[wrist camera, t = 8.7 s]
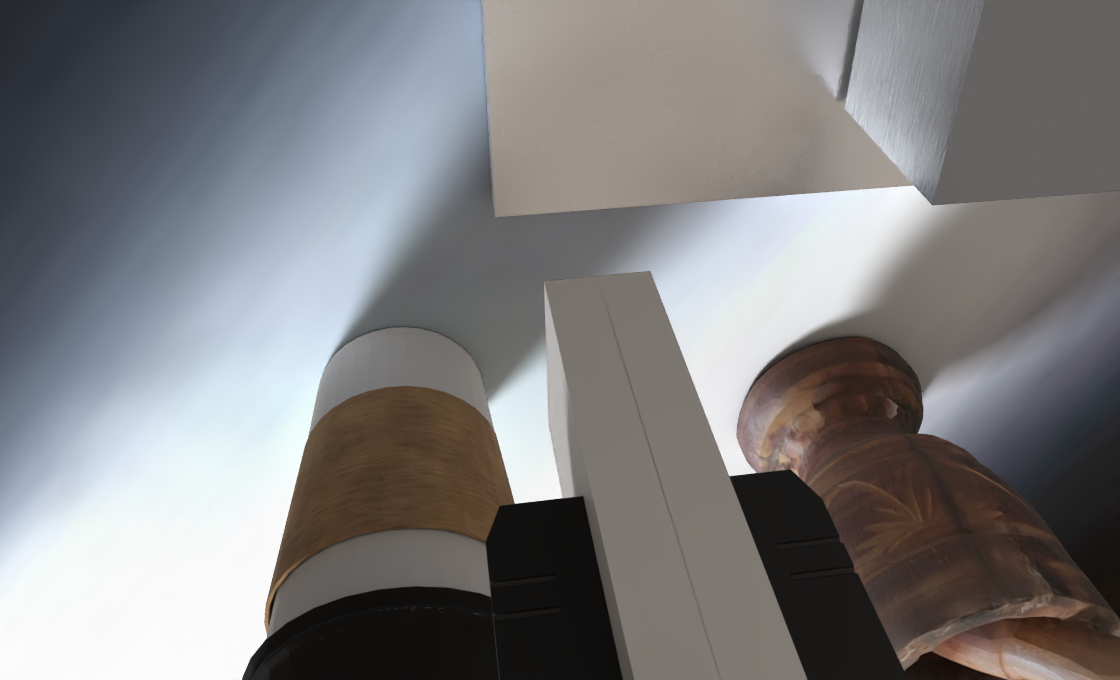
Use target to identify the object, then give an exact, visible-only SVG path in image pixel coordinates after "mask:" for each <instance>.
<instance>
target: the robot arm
mask: <svg viewBox="0 0 1120 680" xmlns="http://www.w3.org/2000/svg"><path fill="white" fill-rule="evenodd" d="M544 297H545V327H546V357H547V387H548V417H549V429H550V434H551V439H552V444H553V450H554V455H555V460H556V465H557V470H558V476H559V481H560V486H561V491H562V496H563V498H562V499H553V500H545V501H536V502H528V503H519V504H511V505H502V506H499V509H498V511H497V514H496V516H495V519H494V522H493V524H492V527H491V529H490V532H489V534H488V537H487V540H486V542H485V543H486V553H487V563H488V573H489V583H490V593H491V603H492V613H493V623H494V633H495V643H496V652H497V662H498V672H499V680H908V678H907V675H906V673H905V671H904V669H903V667H902V665H901V663H900V661H899V659H898V657H897V654H896V652H895V650H894V648H893V646H892V644H891V642H890V640H889V638H888V636H887V634H886V631H885V629H884V627H883V625H882V623H881V621H880V619H879V617H878V615H877V613H876V610H875V608H874V606H873V604H872V602H871V600H870V598H869V596H868V594H867V592H866V590H865V587H864V585H863V583H862V581H861V579H860V577H859V575H858V573H855V571H854V564H853V562H852V560H851V558H850V556H849V554H848V552H847V550H846V548H845V546H844V543H841V542H840V535H839V533H838V531H837V529H836V527H835V525H834V522H833V520H832V518H831V516H830V514H829V512H828V510H827V508H826V506H825V504H824V502H823V499H822V498H821V497H820V496H819V495H817V494H816V493H815V492H814V491H813V490H812V489H811V488H810V487H809V486H808V485H807V484H806V483H805V482H804V481H803V480H801V479H800V478H799V477H798V476H797V475H796V474H795V473H794V472H793V471H792V470H791V469H788V470H780V471H771V472H763V473H754V474H746V475H737V476H729V475H728V472H727V470H726V467H725V464H724V462H723V459H722V457H721V454H720V451H719V449H718V446H717V444H716V441H715V438H714V436H713V433H712V431H711V428H710V425H709V423H708V420H707V418H706V415H705V412H704V410H703V407H702V405H701V402H700V399H699V397H698V394H697V392H696V389H695V386H694V384H693V381H692V379H691V376H690V373H689V371H688V368H687V366H686V363H685V360H684V358H683V355H682V353H681V350H680V347H679V345H678V342H677V340H676V337H675V334H674V332H673V329H672V327H671V324H670V321H669V319H668V316H667V314H666V311H665V308H664V306H663V303H662V301H661V298H660V295H659V293H658V290H657V288H656V285H655V282H654V280H653V277H652V275H651V272H650V271H645V272H634V273H624V274H613V275H602V276H592V277H581V278H571V279H560V280H550V281H544Z"/></svg>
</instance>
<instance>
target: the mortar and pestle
mask: <svg viewBox="0 0 1120 680" xmlns="http://www.w3.org/2000/svg"><path fill="white" fill-rule="evenodd" d="M922 419H923V404H922V395H921V386H920V383H919V380H918V377H917V375H916V374H915V372H914V371H913V370H912V368H911V367H910V366H909V365H908V364H907V363H906V362H905V361H904V360H903V359H902V358H901V357H900V355H899V354H898V353H897V352H895V351H894V350H893V349H891V348H890V347H888V346H886V345H883V344H881V343H879V342H877V341H875V340H872V339H869V338H862V337H849V338H844V339H835V340H830V341H825V342H821V343H818V344H816V345H813V346H810V347H808V348H805V349H803V350H800V351H797V352H795V353H793V354H791V355H790V356H788V357H786V358H785V359H783V360H781V361H780V362H778V363H777V364H776V365H774V366H773V367H771V368H770V369H769V370H768V371H767V372H766V373H765V374H764V375H763V376H762V377H761V378H760V379H759V380H758V381H757V382H756V383H755V384H754V386H753V387H752V388H751V390H750V392H749V393H748V395H747V397H746V399H745V401H744V403H743V405H742V408H741V410H740V414H739V419H738V424H737V439H738V442H739V445H740V447H741V450H742V452H743V454H744V456H745V458H746V460H747V462H748V463H749V464H750V466H751V467H752V468H753V469H754V470H755V471H756V472H757V473H763V472H771V471H780V470H788V469H791V470H792V471H793V472H794V473H795V474H796V475H797V476H798V477H799V478H800V479H801V480H803V481H804V482H805V483H806V484H807V485H808V486H809V487H810V488H811V489H812V490H813V491H814V492H815V493H816V494H817V495H819V496H820V497H821V498H822V499H823V502H824V504H825V506H826V508H827V510H828V512H829V514H830V516H831V518H832V520H833V522H834V525H835V527H836V529H837V531H838V533H839V535H840V542H841V543H844V546H845V548H846V550H847V552H848V554H849V556H850V558H851V560H852V562H853V564H854V571H855V573H858V575H859V577H860V579H861V581H862V583H863V585H864V587H865V590H866V592H867V594H868V596H869V598H870V600H871V602H872V604H873V606H874V608H875V610H876V613H877V615H878V617H879V619H880V621H881V623H882V625H883V627H884V629H885V631H886V634H887V636H888V638H889V640H890V642H891V644H892V646H893V648H894V650H895V652H896V654H897V657H898V659H899V661H900V663H901V665H902V667H903V669H904V671H905V673H906V675H907V678H908V680H1120V619H1119V617H1118V616H1117V615H1116V614H1115V612H1114V611H1113V610H1112V608H1111V607H1110V606H1109V605H1108V603H1107V602H1106V601H1105V599H1104V598H1103V597H1102V596H1101V594H1100V593H1099V592H1098V591H1097V589H1096V588H1095V587H1094V586H1093V584H1092V583H1091V582H1090V580H1089V579H1088V578H1087V577H1086V576H1085V574H1084V573H1083V572H1082V571H1081V570H1080V568H1079V567H1078V566H1077V565H1076V563H1075V562H1074V561H1073V560H1072V558H1071V557H1070V556H1069V555H1068V553H1067V552H1066V550H1065V549H1064V547H1063V546H1062V545H1061V543H1060V542H1059V540H1058V539H1057V538H1056V536H1055V535H1054V533H1053V532H1052V531H1051V529H1050V528H1049V527H1048V525H1047V524H1046V522H1045V521H1044V520H1043V519H1042V517H1041V516H1040V515H1039V514H1038V513H1037V512H1036V511H1035V509H1034V508H1033V507H1032V506H1031V505H1030V504H1029V503H1028V502H1027V501H1026V500H1025V499H1024V498H1023V497H1022V496H1021V495H1020V494H1019V493H1017V492H1016V491H1015V489H1014V488H1013V487H1012V486H1011V485H1010V484H1009V483H1008V482H1007V481H1005V480H1004V479H1002V478H1001V477H1000V476H998V475H997V474H995V473H994V472H993V471H991V470H990V469H988V468H987V467H985V466H984V465H982V464H980V463H979V462H978V461H977V460H976V459H975V458H974V457H973V456H972V455H971V454H970V453H969V452H967V451H966V450H965V449H963V448H961V447H959V446H957V445H955V444H953V443H951V442H949V441H947V440H944V439H941V438H939V437H936V436H933V435H927V434H917V433H918V431H919V429H920V426H921V423H922Z"/></svg>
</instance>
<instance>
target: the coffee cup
mask: <svg viewBox="0 0 1120 680" xmlns="http://www.w3.org/2000/svg"><path fill="white" fill-rule="evenodd" d="M511 504H515V503H514V499H513V496H512V492H511V488H510V485H509V481H508V477H507V473H506V470H505V466H504V462H503V459H502V455H501V451H500V448H499V444H498V440H497V437H496V433H495V432H494V428H493V423H492V419H491V415H490V411H489V406H488V402H487V398H486V394H485V389H484V385H483V382H482V378H481V374H480V371H479V369H478V367H477V365H476V363H475V362H474V360H473V358H472V357H471V356H470V355H469V354H468V353H467V352H466V351H465V350H464V349H463V348H462V347H461V346H459V345H458V344H457V343H455V342H454V341H452V340H451V339H449V338H447V337H445V336H443V335H440V334H438V333H436V332H432V331H428V330H425V329H420V328H410V327H397V328H386V329H381V330H377V331H372V332H370V333H367V334H365V335H362V336H359V337H357V338H356V339H354V340H352V341H351V342H349V343H348V344H346V345H345V346H343V347H342V348H341V349H340V350H339V351H338V352H337V353H336V354H335V355H334V356H333V357H332V359H331V360H330V361H329V363H328V364H327V366H326V367H325V370H324V372H323V375H322V377H321V380H320V384H319V388H318V393H317V397H316V402H315V407H314V412H313V417H312V422H311V427H310V431H309V436H308V440H307V443H306V445H305V448H304V452H303V456H302V461H301V465H300V469H299V473H298V477H297V481H296V485H295V489H294V493H293V497H292V501H291V505H290V509H289V513H288V517H287V521H286V526H285V530H284V534H283V538H282V542H281V546H280V550H279V554H278V558H277V562H276V566H275V570H274V574H273V578H272V582H271V586H270V591H269V595H268V599H267V603H266V610H265V622H264V623H265V627H266V631H267V639H266V640H265V641H264V643H263V644H262V645H261V646H260V648H259V649H258V650H257V651H256V653H255V654H254V655H253V656H252V658H251V659H250V661H249V664H248V666H247V668H246V671H245V673H244V675H243V678H242V680H499V672H498V662H497V652H496V643H495V633H494V623H493V613H492V603H491V593H490V583H489V573H488V563H487V553H486V543H485V542H486V540H487V537H488V534H489V532H490V529H491V527H492V524H493V522H494V519H495V516H496V514H497V511H498V509H499V506H502V505H511Z"/></svg>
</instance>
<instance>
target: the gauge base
mask: <svg viewBox="0 0 1120 680" xmlns="http://www.w3.org/2000/svg"><path fill="white" fill-rule="evenodd" d="M863 4H864V0H481V14H482V31H483V49H484V66H485V84H486V101H487V118H488V136H489V153H490V171H491V188H492V201H493V207H494V213H495V217H505V216H518V215H531V214H545V213H558V212H571V211H584V210H597V209H610V208H623V207H636V206H649V205H663V204H676V203H689V202H702V201H715V200H728V199H741V198H754V197H767V196H781V195H794V194H807V193H820V192H833V191H846V190H859V189H872V188H885V187H899V186H912V185H913V184H912V182H911V181H910V180H909V179H908V178H907V177H906V176H905V175H904V174H903V173H902V171H901V170H900V169H899V168H898V167H897V166H896V165H895V164H894V163H893V162H892V160H891V159H890V158H889V157H888V156H887V155H886V154H885V153H884V152H883V151H882V149H881V148H880V147H879V146H878V145H877V144H876V143H875V142H874V141H873V139H872V138H871V137H870V136H869V135H868V134H867V133H866V132H865V131H864V130H863V128H862V127H861V126H860V125H859V124H858V123H857V122H856V121H855V120H854V119H853V117H852V116H851V115H850V114H849V113H848V112H847V111H846V110H845V103H846V98H847V92H848V87H849V81H850V76H851V70H852V64H853V59H854V53H855V48H856V42H857V37H858V31H859V26H860V20H861V15H862V9H863Z"/></svg>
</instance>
